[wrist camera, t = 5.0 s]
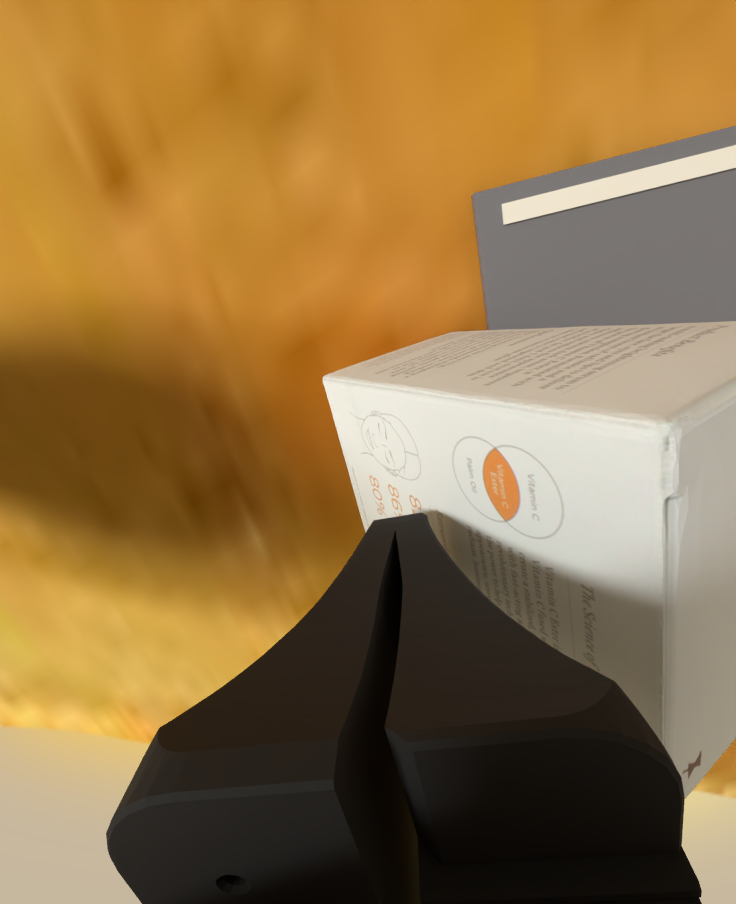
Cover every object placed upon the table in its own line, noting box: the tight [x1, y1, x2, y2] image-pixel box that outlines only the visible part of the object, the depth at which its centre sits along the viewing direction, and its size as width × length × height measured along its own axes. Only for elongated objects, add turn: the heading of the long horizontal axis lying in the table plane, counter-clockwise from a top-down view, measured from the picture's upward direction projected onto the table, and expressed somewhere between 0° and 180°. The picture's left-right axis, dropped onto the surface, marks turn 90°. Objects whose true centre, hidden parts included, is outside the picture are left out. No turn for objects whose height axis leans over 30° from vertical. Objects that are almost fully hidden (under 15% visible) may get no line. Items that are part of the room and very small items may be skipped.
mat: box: [472, 126, 736, 330], centre depth 16 cm, size 14×14×1 cm
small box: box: [323, 321, 736, 799], centre depth 12 cm, size 8×6×10 cm
